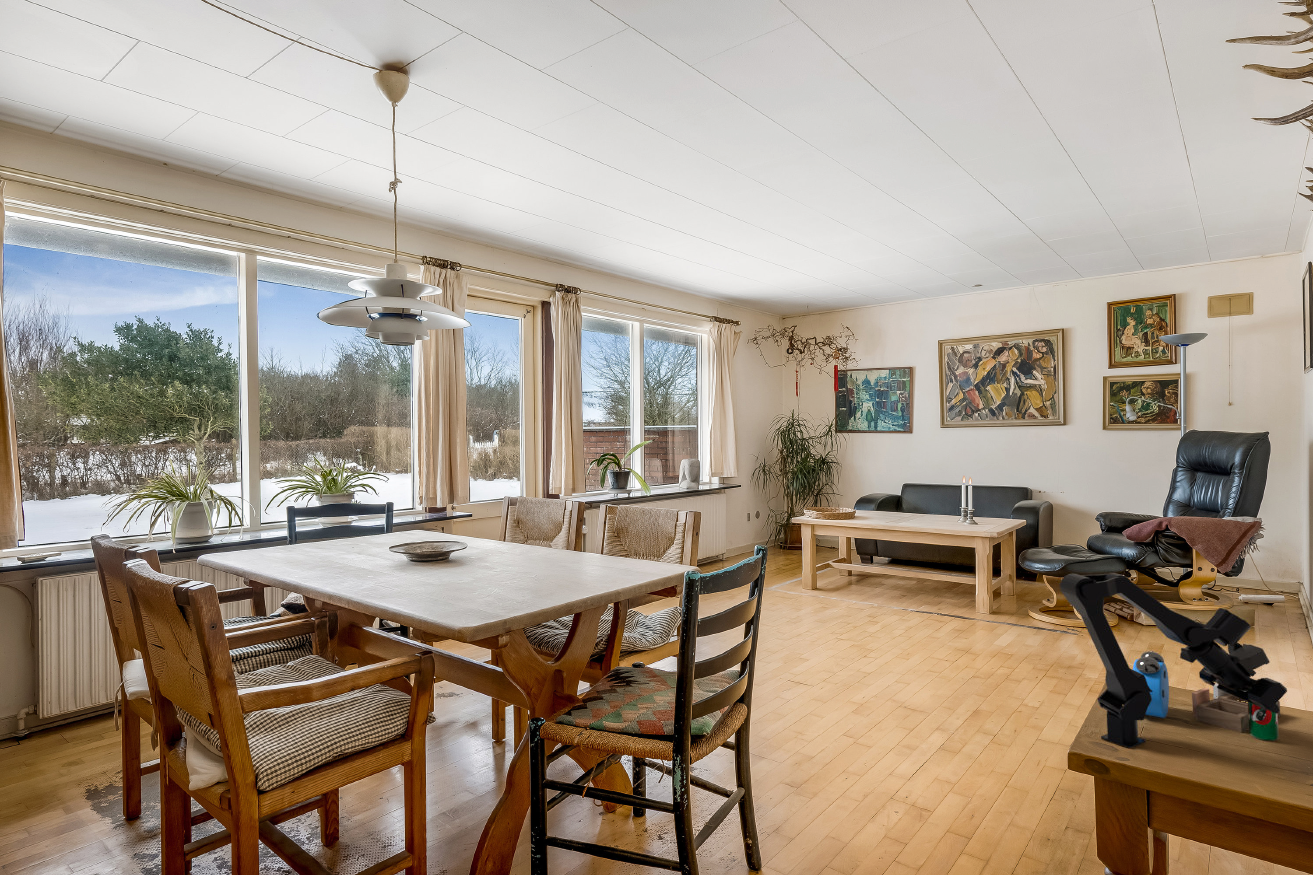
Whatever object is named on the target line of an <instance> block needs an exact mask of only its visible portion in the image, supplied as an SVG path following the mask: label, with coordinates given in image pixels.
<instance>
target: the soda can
mask: <svg viewBox="0 0 1313 875" xmlns="http://www.w3.org/2000/svg"><path fill="white" fill-rule="evenodd" d="M1249 691H1250V689H1248V690H1247V699H1248V692H1249ZM1248 700H1249V699H1248ZM1276 704H1277V703H1276ZM1248 719H1249V730H1248V731H1249V734H1250V736H1251V737H1253V738H1255V739H1258V740H1260V741H1267V742H1273V741H1274V742H1275V741H1277V740H1278V739H1279V738H1280V737H1279V719H1278V715H1277V714H1276V713H1274V712H1271V711H1269V710H1266V709H1264V708H1262V707H1259V706H1257V705H1254V704H1252V703H1250V702H1248Z"/></svg>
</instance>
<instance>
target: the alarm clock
mask: <svg viewBox="0 0 1313 875" xmlns="http://www.w3.org/2000/svg"><path fill="white" fill-rule="evenodd" d="M1132 670H1134V671H1137V672H1139V673H1141V674H1143V675H1144V676H1145V678H1146V681H1147V684H1148V686H1149V688H1150V689H1151V690H1152V691H1153V692H1150V694H1151V697H1152V701H1151V702H1150V705H1149V706H1148V708H1147V712H1146V715H1145V716H1151V717H1156V718H1157V717H1158V718H1163V719H1164V718H1166V717H1167V715H1168V712H1169V702H1170V701H1169V700H1170V684H1169V682H1170V680H1169V675H1168V674H1169V672H1168V668H1167V665H1166V664H1165V659H1164V657H1163V656H1162V655H1161V654H1160V653H1158V652H1155V651H1154V650H1151V651H1150V650H1149V651H1145V652H1144V651H1143V653H1141V655H1140V658H1138V659H1135V660H1134V662H1133V666H1132Z"/></svg>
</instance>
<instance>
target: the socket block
mask: <svg viewBox="0 0 1313 875" xmlns="http://www.w3.org/2000/svg"><path fill="white" fill-rule="evenodd" d="M1218 685H1219V684H1218V683H1215V685H1214V686H1212V691H1213V693H1212V694H1213V699H1211V697H1210V696H1211V694H1210V688H1207V687H1204V688H1203V687H1202V688H1201V689H1197V690H1195V691H1192V692H1191V700H1192V701H1191V702H1192V717H1193V718H1196V721H1197V722H1200V723H1201V722H1202V723H1205V724H1210V725H1212V726H1216V727H1220V728H1223V729H1225V730H1226V729H1227V730H1231V731H1235V732H1237V733H1244V732H1247V731H1249V719H1248V703H1246V702H1248V701H1246V700H1243V699H1241V698H1239V697H1236V696H1234V695H1231V694H1229V693H1227V692H1224V691H1222V690H1220V689H1218V688H1217V686H1218ZM1216 696H1217V697H1216ZM1237 700H1239V701H1237ZM1241 701H1245V702H1241ZM1280 702H1281V701H1280V700H1279V701H1278V702H1277V705H1278V707H1279V709H1280V711H1279V712H1278V713H1277V715H1278V717H1281V703H1280Z"/></svg>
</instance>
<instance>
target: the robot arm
mask: <svg viewBox="0 0 1313 875" xmlns="http://www.w3.org/2000/svg"><path fill="white" fill-rule="evenodd" d="M1059 588H1060V592H1061V593H1062V595H1063V596H1064V598H1065V599H1066V600H1067V602H1068V603H1069V605H1071V606H1072V607H1073V608H1074V610H1076V611H1077V613H1078V614H1079V615H1080V617H1081V619H1082V621H1083V623H1084V625H1085V628H1086V630H1087V632H1088V635H1089V636H1090V638H1091V640H1092V643H1093V644H1094V647H1095V649H1096V651H1097V653H1098V656H1099V658H1100V661H1101V662H1102V665H1103V667H1104V668H1105V681H1104V682H1105V684H1106V689H1105V690H1104V691H1103V692H1102V693H1101V694H1100V696H1098V698H1097V699H1096V700H1097V703H1098V704H1099V707H1100V708H1102V709H1104V710H1106V728H1107V729H1106V732H1107V733H1106V734H1103V735H1101V736H1100V739H1101V740H1104V741H1106V742H1110V743H1112V744H1116V745H1119V746H1122V747H1125V748H1129V749H1132V748H1135V747H1136V746H1139V745H1141V744H1145V743H1146V739H1143V738H1141V737H1139V730H1138V729H1139V728H1138V727H1139V726H1138V721H1144V720H1145V718H1146V716H1147V715H1146V712H1147V708H1148V706H1149V705H1150V702H1151V701H1152V697H1151V694H1150V692H1153V691H1152V690H1151V689H1150V688H1149V686H1148V684H1147V681H1146V678H1145V676H1144V675H1143V674H1141V673H1139V672H1137V671H1134V670H1133V668H1130V666H1129V664H1128V661H1127V659H1126V658H1125V655H1124V652H1123V650H1122V649H1121V647H1120V645H1119V642H1118V640H1117V638H1116V636H1115V634H1114V632H1113V630H1112V627H1111V625H1110V623H1109V621H1108V619H1107V617H1106V615H1105V614H1106V613H1105V611H1104V606H1105V605H1104V603H1105V598H1110V597H1112V596H1115V595H1118V596H1119V597H1120V598H1121V599H1123V600H1125V601H1126V602H1127V603H1128V604H1130V605H1131V606H1133V607H1134V608H1136V609H1137V610H1138V611H1140V613H1142V614H1144V615H1145V616H1147V617H1148V618H1149V619H1151V620H1152V621H1153V623H1154V624H1155V626H1156V628H1157V629H1158V630H1159V631H1160V632H1161V633H1162V634H1163V635H1164V636H1165V637H1166V638H1167V639H1169V640H1171V641H1173V642H1176V643H1178V644H1181V645H1183V646H1185V647H1181V648H1180V654H1179V658H1180V660H1184V661H1187V662H1189V663H1190V664H1194V662H1196V661H1197V662H1198V663H1200V665H1201V666H1203V667H1202V669H1201V670H1200V671H1199V672H1198V675H1199V679H1200V680H1202V681H1203V682H1204V683H1205V684H1208V685H1210V686H1212V687H1213V686H1214V685H1215V684H1217V683H1218V684H1219V685H1218V686H1217V688H1218V689H1220V690H1222V691H1224V692H1227V693H1229V694H1231V695H1234V696H1236V697H1239V698H1241V699H1243V700H1246V701H1248V702H1250V703H1252V704H1254V705H1257V706H1259V707H1262V708H1264V709H1266V710H1269V711H1271V712H1274V713H1276V714H1277V713H1278V712H1279V711H1280V712H1281V708H1280V709H1279V707H1278V705H1277V704H1276V703H1277V702H1278V701H1280V700H1281V699H1282V698H1283V696H1285V695H1286V694H1287V692H1288V689H1287V687H1285V685H1283V684H1282V683H1281V682H1280V681H1276V680H1274V679H1271V678H1268V677H1261V678H1257V679H1254V678H1252V677H1254V676H1255V675H1256V674H1257V672H1256V671H1255V670H1256V669H1259V668H1260V667H1263V666H1264V665H1269V664H1270V660H1269V658H1268V656H1267V654H1266V653H1265V651H1264V648H1262V647H1259V646H1257V645H1252V644H1246V643H1243V644H1241V643H1240V640H1241V639H1242V638H1243V637H1244V636H1245V635H1246V634H1247V633H1248V632H1249V630H1250V629H1251V628H1252V626H1251V625H1250V623H1249V622H1247V621H1246V620H1245V619H1243V618H1241V617H1239V616H1238V615H1236V614H1234V613H1232V612H1230V610H1228V609H1226V608H1223V607H1219V608H1218V609H1217V610H1216V611H1215V613H1214V614H1213V615H1212V617H1211V618H1210V619H1209V620H1208V621H1207V622H1206V623H1205V624H1204V623H1201V622H1198V621H1195V620H1193V619H1192V618H1190V617H1188V616H1185V615H1183V614H1181V613H1178V612H1175V611H1174V610H1172V609H1170V608H1168V607H1167V606H1166V605H1165V604H1163V603H1162V602H1161V601H1160V600H1158V599H1156V598H1155V597H1153V596H1152V594H1151V595H1150V594H1149V593H1148V592H1147V591H1145V590H1144V589H1143V588H1141V587H1140V586H1138V585H1137V584H1135V583H1134V582H1133V581H1131V580H1130V578H1129V577H1128V576H1126V575H1123V574H1119V573H1116V572H1109V573H1103V574H1085V575H1084V574H1081V575H1080V574H1078V573H1069V574H1067V575H1065V576H1063V578H1062V579H1061V581H1060V583H1059ZM1220 645H1221V646H1220ZM1222 646H1223V647H1227V651H1226V650H1225V649H1224V648H1223V647H1222ZM1248 689H1250V691H1249V692H1248V699H1249V700H1248V699H1247V690H1248Z"/></svg>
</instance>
